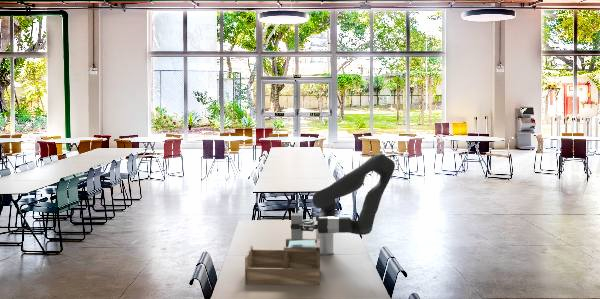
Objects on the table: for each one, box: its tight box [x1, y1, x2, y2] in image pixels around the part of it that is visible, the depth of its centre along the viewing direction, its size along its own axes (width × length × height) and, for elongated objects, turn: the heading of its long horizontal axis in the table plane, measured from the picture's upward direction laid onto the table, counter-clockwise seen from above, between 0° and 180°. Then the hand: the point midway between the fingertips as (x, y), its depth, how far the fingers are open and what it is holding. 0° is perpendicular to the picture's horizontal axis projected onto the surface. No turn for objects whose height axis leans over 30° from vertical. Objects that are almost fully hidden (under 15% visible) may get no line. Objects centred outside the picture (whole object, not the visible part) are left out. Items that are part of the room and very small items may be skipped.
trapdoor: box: [288, 240, 316, 247], centre depth 275 cm, size 12×12×1 cm
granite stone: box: [290, 212, 304, 239], centre depth 274 cm, size 5×5×11 cm
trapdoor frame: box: [244, 237, 321, 286], centre depth 276 cm, size 20×33×16 cm, turn 87°
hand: (291, 225), depth 274 cm, fingers closed on granite stone, 5 cm apart
